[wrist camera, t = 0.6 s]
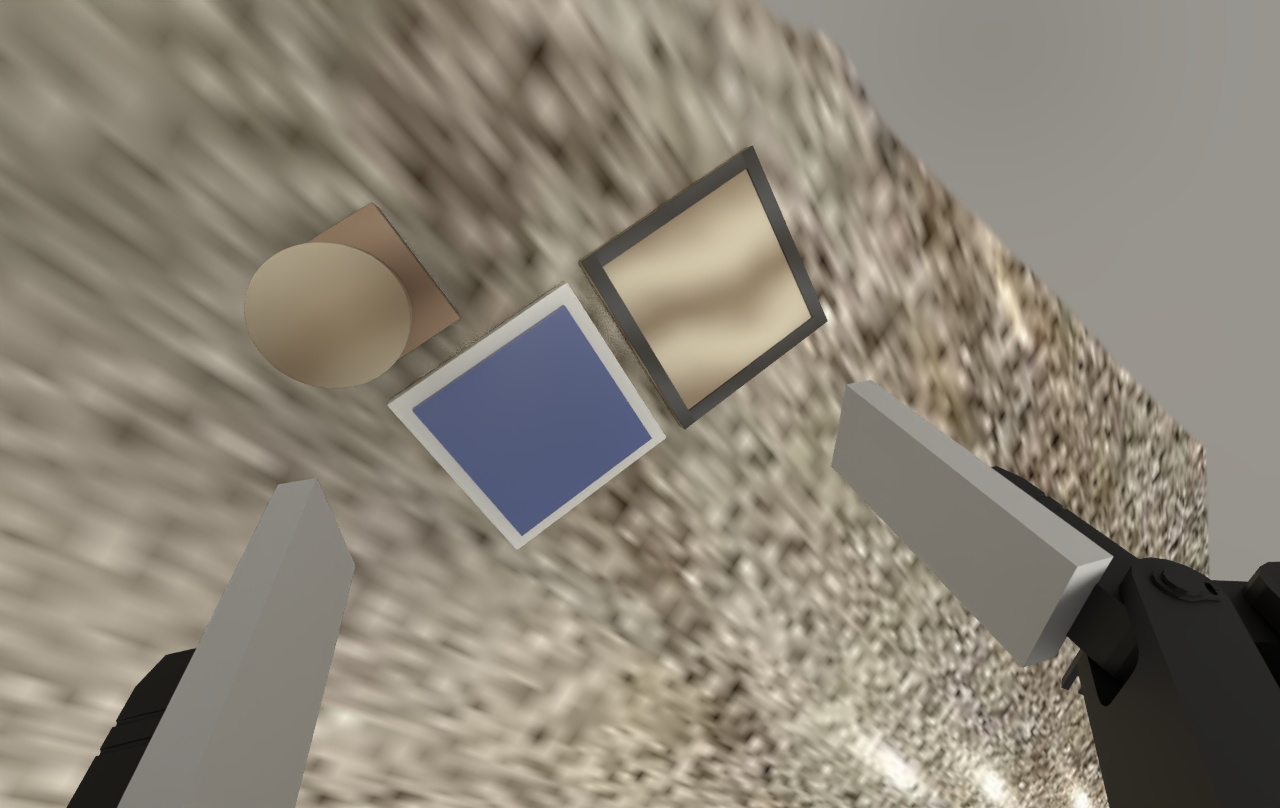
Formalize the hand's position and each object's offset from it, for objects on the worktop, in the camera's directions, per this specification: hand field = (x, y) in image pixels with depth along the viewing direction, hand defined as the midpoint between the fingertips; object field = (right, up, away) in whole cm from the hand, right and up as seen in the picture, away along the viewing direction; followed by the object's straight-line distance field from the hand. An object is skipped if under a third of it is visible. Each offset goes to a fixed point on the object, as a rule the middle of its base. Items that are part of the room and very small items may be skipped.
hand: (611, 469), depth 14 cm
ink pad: (-6, +1, +22) cm, 23 cm away
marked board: (+6, +9, +25) cm, 27 cm away
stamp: (-14, +8, +17) cm, 24 cm away
